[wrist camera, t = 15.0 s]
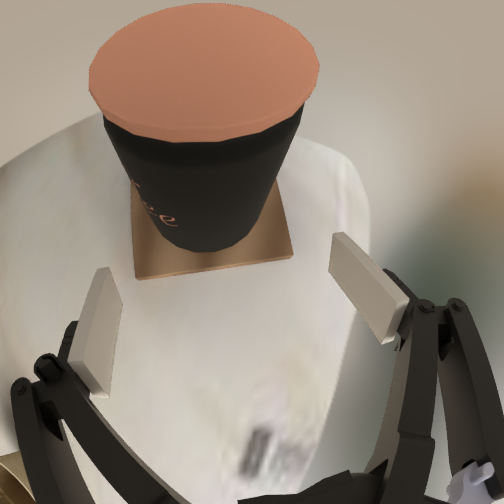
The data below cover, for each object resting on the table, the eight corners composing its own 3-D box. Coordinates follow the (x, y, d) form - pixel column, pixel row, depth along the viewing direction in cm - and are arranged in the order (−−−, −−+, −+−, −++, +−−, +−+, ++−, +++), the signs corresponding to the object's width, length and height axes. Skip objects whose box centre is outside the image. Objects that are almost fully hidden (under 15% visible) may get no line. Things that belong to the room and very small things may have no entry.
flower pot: (20, 477, 16) (-13, 500, 8) (11, 423, 19) (-30, 439, 11) (78, 508, 17) (52, 541, 9) (72, 455, 20) (36, 485, 11)
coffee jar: (148, 166, 27) (105, 19, 10) (247, 151, 29) (283, 2, 12) (157, 265, 25) (68, 159, 8) (270, 245, 27) (358, 124, 10)
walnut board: (139, 280, 26) (135, 277, 25) (134, 165, 29) (131, 158, 27) (289, 258, 28) (293, 254, 27) (264, 149, 31) (267, 141, 30)
